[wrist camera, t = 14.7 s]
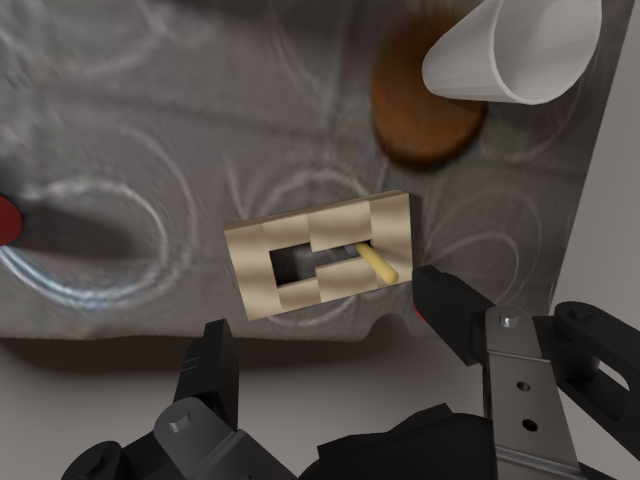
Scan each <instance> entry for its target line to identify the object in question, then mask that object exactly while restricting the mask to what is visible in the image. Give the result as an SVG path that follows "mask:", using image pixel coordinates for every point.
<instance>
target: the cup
mask: <svg viewBox="0 0 640 480" xmlns="http://www.w3.org/2000/svg"><path fill="white" fill-rule="evenodd" d="M601 19H602V9H601V0H485V1H484V2H482V3H481V4H480V5H479V6H478V7H476V8H475V9H474V10H473V11H472V12H470V13H469V14H468V15H467V16H466V17H464V18H463V19H462V20H461V21H460V22H458V23H457V24H456V25H455V26H454V27H452V28H451V29H450V30H449V31H448V32H446V33H445V34H444V35H443V36H442V37H441V38H439V40H438V41H437V42H436V44H435V45H434V46H432V47H431V48H430V50H429V51H428V52H427V54H426V56H425V58H424V61H423V66H422V77H423V81H424V84H425V85H426V87H427V89H428V90H429V91H430V92H431V93H433V94H435V95H438V96H444V97H446V98H451V99H464V100H480V101H495V102H510V103H522V104H529V105H536V104H541V103H546V102H549V101H551V100H553V99H555V98H557V97H559V96H561V95H562V94H563V93H564V92H565V91H567V90H568V89H569V88H570V87H571V86H572V85H574V83H575V82H576V81H577V80H578V78H579V77H580V76H581V74H582V73H583V72H584V71H585V69H586V67H587V65H588V63H589V61H590V59H591V57H592V56H593V53H594V50H595V47H596V44H597V41H598V38H599V34H600V27H601Z"/></svg>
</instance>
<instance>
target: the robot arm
mask: <svg viewBox="0 0 640 480" xmlns="http://www.w3.org/2000/svg"><path fill="white" fill-rule="evenodd" d="M412 290H413V302H414V305H415V308H416V310H417V312H418V313H419V314H420V315H421V316H422V317H423V319H424V320H425V321H426V322H427V323H428V324H429V325H430V326H431V327H432V328H433V329H434V331H435V332H436V333H437V334H438V335H439V336H440V337H441V338H442V339H443V340H444V342H445V343H446V344H447V345H448V346H449V347H450V348H451V349H452V350H453V351H454V352H455V353H456V355H457V356H458V357H459V358H460V359H461V360H462V361H463V362H464V363H465V364H466V365H467V366H471V365H474V364H477V363H480V364H481V365H482V366H483V368H482V383H483V417H480V416H477V415H472V414H466V413H452V411H451V410H450V408H449V407H448V406H447V404H446V403H443V404H440V405H437V406H434V407H431V408H428V409H425V410H422V411H419V412H416V413H414V414H413V415H411V416H410V417H408V418H407V419H406V420H404V421H403V422H401V423H400V424H398V425H397V426H395V427H394V428H393V429H391V430H390V431H388V432H384V433H371V434H359V435H358V434H357V435H349V436H346V437H343V438H340V439H337V440H334V441H331V442H328V443H325V444H322V445H319V446H317V449H318V454H319V459H318V460H316V461H315V462H313V463H312V464H311V465H310V466H309V467H308V468H307V469H306V470H305V471H304V472H303V473H302V474H301V475H300V476H299V478H297V477H296V476H295V475H294V474H293V473H292V472H291V471H289V470H288V469H287V468H286V467H285V466H284V465H283V464H281V463H280V462H279V461H278V460H277V459H276V458H275V457H273V456H272V455H271V454H270V453H269V452H268V451H267V450H266V449H264V448H263V447H262V446H261V445H260V444H259V443H258V442H257V441H255V440H254V439H253V438H252V437H251V436H250V435H249V434H248V433H246V432H245V431H244V430H242V429H238V430H237V427H238V426H237V425H238V391H239V356H238V352H237V348H236V345H235V342H234V339H233V336H232V333H231V330H230V327H229V324H228V322H227V320H226V319H225V318H224V319H221V320H217V321H213V322H209V323H206V325H205V330H204V335H203V338H199V339H195V340H194V341H193V342H192V344H191V345H190V347H189V348H188V349H187V351H186V355H185V359H184V363H183V366H182V372H181V374H180V377H179V382H178V385H177V389H176V393H175V396H174V400H173V404H172V405H170V406H169V407H168V408H166V409H165V410H164V411H163V412H162V413H161V415H160V416H159V417H158V419H157V420H156V423H155V425H154V430H152V431H151V432H150V433H148V434H147V435H145V436H143V437H141V438H140V439H138V440H136V441H134V442H133V443H131V444H129V445H127V446H126V447H124V448H121V446H120V445H119V443H117V442H115V441H105V442H101V443H99V444H96V445H95V446H93V447H91V448H89V449H88V450H86V451H85V452H84V453H82V454H81V455H80V456H79V457H78V458H76V460H74V461H73V463H71V465H70V466H69V467H68V468H67V470H66V471H65V473H64V474H63V476H62V478H61V480H617V479H614V478H612V477H610V476H608V475H606V474H604V473H602V472H600V471H598V470H595V469H593V468H591V467H589V466H587V465H585V464H583V463H581V462H579V461H578V460H577V457H576V453H575V449H574V446H573V442H572V438H571V435H570V432H569V428H568V424H567V421H566V417H565V413H564V410H563V406H562V402H561V399H560V395H559V392H558V388H560V389H561V390H562V391H563V392H564V393H565V394H566V395H567V396H568V397H569V398H571V399H572V400H573V401H574V402H575V403H576V404H577V405H578V406H579V407H580V408H582V409H583V410H584V411H585V412H586V413H587V414H588V415H589V416H591V418H592V419H594V420H595V421H596V422H597V423H598V424H599V425H600V426H601V427H602V428H603V429H605V430H606V431H607V432H608V433H609V434H610V435H611V436H612V437H613V438H615V439H616V440H617V441H618V442H619V443H620V444H621V445H622V446H623V447H624V448H626V449H627V450H628V451H629V452H630V453H631V454H632V455H633V456H634V457H635V458H636V459H637V460H639V461H640V331H638V330H637V329H635V328H633V327H631V326H629V325H627V324H626V323H624V322H622V321H620V320H619V319H617V318H615V317H614V316H612V315H610V314H608V313H606V312H605V311H603V310H601V309H599V308H597V307H595V306H592V305H589V304H586V303H582V302H573V301H568V302H562V303H559V304H558V305H556V307H555V311H554V316H535V317H531V316H530V315H529V314H528V313H527V312H525V311H523V310H521V309H519V308H516V307H513V306H507V305H498V306H497V305H495V304H494V303H493V302H491V301H490V300H488V299H487V298H486V297H484V296H483V295H481V294H480V293H479V292H477V291H476V290H475V289H472V287H470V286H469V285H468V284H465V282H463V281H462V280H461V279H459V278H458V277H456V276H454V275H451V274H448V273H445V272H444V273H441V272H440V271H439V270H437V269H436V268H435V267H433V266H432V265H426V266H422V267H418V268H415V269H413V270H412ZM600 360H601V361H602V362H604V363H605V364H606V365H608V366H609V367H611V368H612V369H613V370H615V371H616V372H618V373H619V374H620V375H621V376H622V377H623V378H624V379H625V380H626V382H627V384H628V386H629V391H628V390H627V389H625V388H624V387H623V386H622V385H620V384H619V383H617V382H616V381H615V380H614V379H612V378H611V377H609V376H608V375H607V374H605V373H604V372H603V371H601V370H600V369H599V368H598V367H599V363H600ZM557 387H558V388H557Z"/></svg>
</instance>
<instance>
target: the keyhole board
mask: <svg viewBox="0 0 640 480" xmlns="http://www.w3.org/2000/svg"><path fill="white" fill-rule="evenodd" d="M224 234H225V237H226V241H227V244H228V248H229V252H230V255H231V259H232V262H233V266H234V270H235V273H236V277H237V280H238V284H239V288H240V291H241V295H242V298H243V302H244V306H245V309H246V313H247V317H248V320H249V321H252V320H256V319H260V318H264V317H268V316H272V315H276V314H280V313H284V312H287V311H291V310H295V309H299V308H303V307H307V306H311V305H315V304H319V303H323V302H327V301H331V300H335V299H339V298H343V297H347V296H351V295H355V294H359V293H363V292H367V291H371V290H375V289H379V288H383V287H387V286H391V285H390V284H387V283H386V282H385V281H384V280H383V279H382V278H381V277H380V276H379V275H378V273H377V272H376V271H375V270H374V269H373V268H372V267H371V266H370V265H369V264H368V263H367V262H366V261H365V259H364V258H363V257H362V256H360V257H356V258H351V259H347V260H343V261H339V262H334V263H330V264H326V265H321V266H317V267H315V272H316V277H313V278H309V279H304V280H300V281H296V282H292V283H288V284H283V285H279V286H277V285H276V281H275V277H274V272H273V268H272V264H271V259H270V255H269V251H271V250H276V249H280V248H285V247H290V246H294V245H299V244H303V243H308V242H310V244H311V249H312V251H313V252H316V251H320V250H325V249H329V248H334V247H338V246H343V245H347V244H351V243H356V242H360V241H365V240H369V239H370V240H371V248H372V249H373V250H374V251H375V252H376V253H377V254H378V255H379V256H380V257H381V258H382V259H383V260H385V261H386V262H387V263H388V264H389V265H390V266H391V267H392V268H393V269H394V270H395V271H397V272H398V274H399V279H398V281H397V282H396V283H394V284H398V283H402V282H406V281H410V280H412V270H413V268H412V248H411V228H410V208H409V193H407V192H404V191H401V190H393V191H388V192H383V193H378V194H373V195H368V196H363V197H358V198H353V199H348V200H344V201H339V202H334V203H329V204H324V205H319V206H314V207H309V208H304V209H299V210H294V211H289V212H284V213H279V214H275V215H270V216H265V217H260V218H255V219H250V220H245V221H240V222H235V223H230V224H226V225H225V229H224ZM394 284H392V285H394Z"/></svg>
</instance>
